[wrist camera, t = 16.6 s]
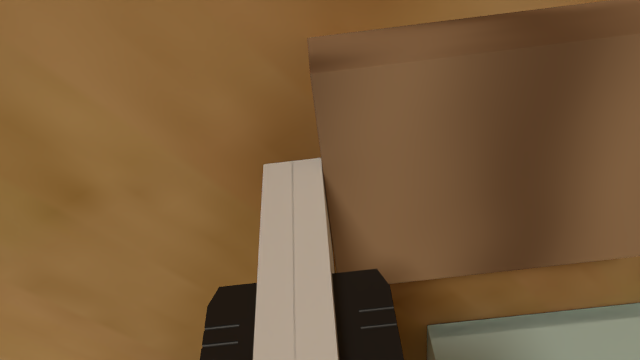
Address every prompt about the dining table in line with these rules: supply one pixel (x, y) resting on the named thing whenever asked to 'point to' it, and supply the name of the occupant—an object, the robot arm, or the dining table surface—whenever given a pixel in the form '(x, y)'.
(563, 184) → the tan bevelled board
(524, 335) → the tray
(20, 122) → the dining table surface
